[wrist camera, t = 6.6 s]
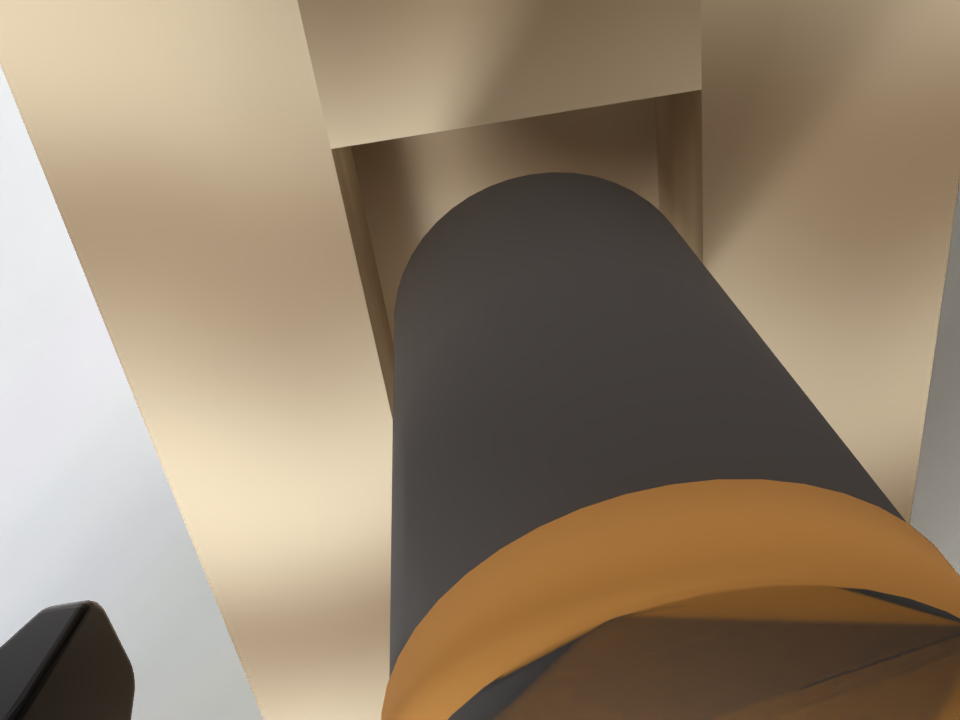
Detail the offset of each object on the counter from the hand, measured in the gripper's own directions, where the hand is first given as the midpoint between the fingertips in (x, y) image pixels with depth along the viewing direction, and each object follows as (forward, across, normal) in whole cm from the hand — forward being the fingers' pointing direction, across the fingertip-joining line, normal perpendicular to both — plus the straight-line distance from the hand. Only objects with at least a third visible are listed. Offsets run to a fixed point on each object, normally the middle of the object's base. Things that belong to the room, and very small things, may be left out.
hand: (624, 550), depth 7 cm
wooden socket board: (+8, 0, +6) cm, 11 cm away
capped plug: (+4, 0, 0) cm, 4 cm away
